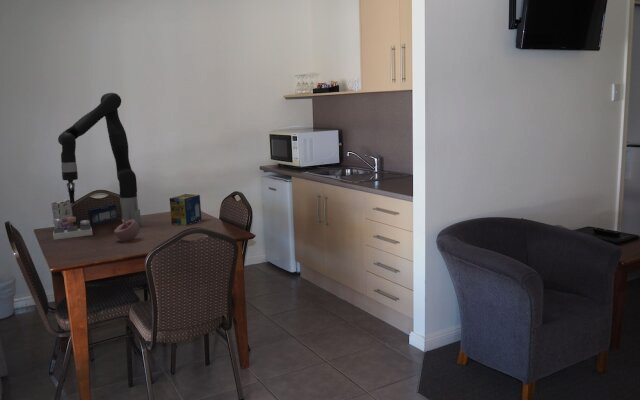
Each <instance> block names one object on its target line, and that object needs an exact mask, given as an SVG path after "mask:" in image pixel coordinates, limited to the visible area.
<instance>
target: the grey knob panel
mask: <svg viewBox="0 0 640 400" xmlns="http://www.w3.org/2000/svg"><path fill="white" fill-rule="evenodd" d="M52 236H53V238H52V239H53V241H55V240H63V239H70V238H79V237H85V236H93V229H92V226H90V225H87V226H81V224H80V225H79V228H78V225H74V226H69V227H67V230H64V227H60V228H55V227H54V228H53V232H52Z"/></svg>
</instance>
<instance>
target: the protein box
mask: <svg viewBox="0 0 640 400" xmlns="http://www.w3.org/2000/svg"><path fill="white" fill-rule="evenodd" d="M169 207H170V219H171V220H170V221H171V225H172V224H177V225H176V226H189V225H191V224H190V223H192V224H194V223H193V222H195V221H198V222H200V221H199V220H201V219H202V207H201V195H200V194H193V193H192V194H191V193H190V194H189V193H184V194H182V195H181V194H179V195H178V196H177V195H176V196H174V197H170V198H169ZM201 221H202V220H201ZM195 223H196V222H195ZM188 224H189V225H188Z"/></svg>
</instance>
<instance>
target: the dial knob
mask: <svg viewBox="0 0 640 400" xmlns="http://www.w3.org/2000/svg"><path fill="white" fill-rule="evenodd" d="M76 221H77V218H76V216H73V217H67V223H70V225H71V226H73V222H74V223H76Z"/></svg>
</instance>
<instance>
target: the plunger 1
mask: <svg viewBox="0 0 640 400" xmlns="http://www.w3.org/2000/svg"><path fill="white" fill-rule="evenodd" d="M52 222H53V225H54V224H57V227H60V224H61V223H63V221H62V218H56V219H52Z"/></svg>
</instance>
